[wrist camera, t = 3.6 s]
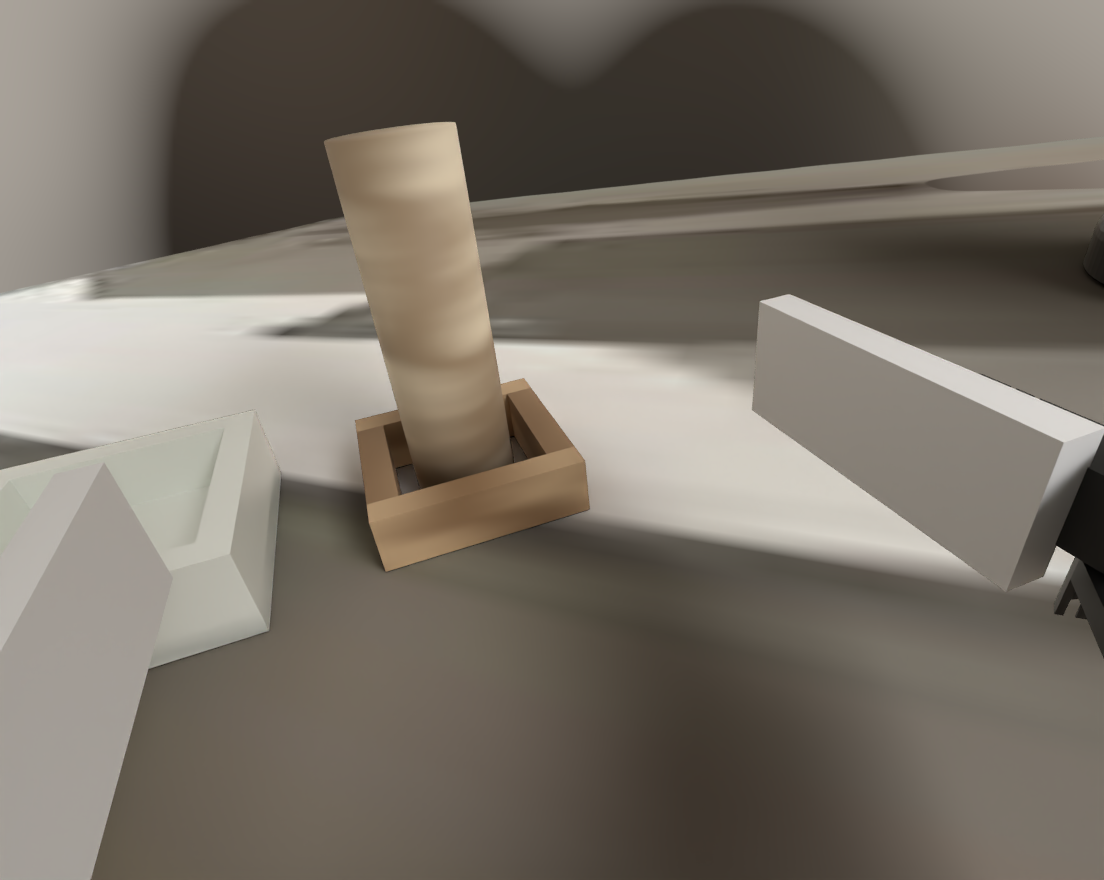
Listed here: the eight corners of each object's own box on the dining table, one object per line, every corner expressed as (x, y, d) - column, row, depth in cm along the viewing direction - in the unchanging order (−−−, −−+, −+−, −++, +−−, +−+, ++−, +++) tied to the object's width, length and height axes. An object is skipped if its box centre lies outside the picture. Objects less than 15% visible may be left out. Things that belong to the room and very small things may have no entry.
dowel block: (529, 419, 27) (523, 378, 26) (589, 509, 21) (585, 461, 20) (368, 462, 25) (355, 420, 24) (385, 571, 20) (369, 523, 18)
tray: (281, 472, 25) (255, 409, 24) (269, 630, 18) (230, 553, 16) (35, 537, 23) (-12, 472, 22) (-92, 744, 16) (-177, 669, 14)
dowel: (502, 448, 25) (443, 119, 19) (528, 496, 22) (468, 125, 16) (415, 472, 24) (322, 137, 18) (430, 525, 21) (325, 147, 15)
